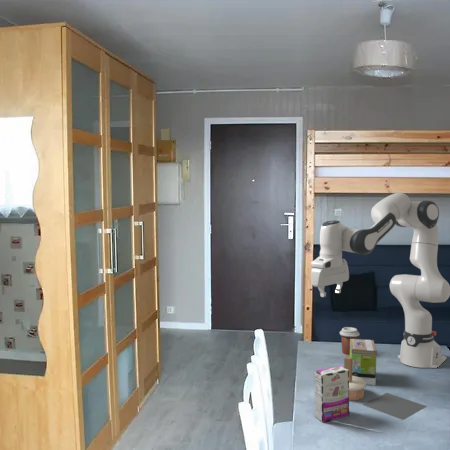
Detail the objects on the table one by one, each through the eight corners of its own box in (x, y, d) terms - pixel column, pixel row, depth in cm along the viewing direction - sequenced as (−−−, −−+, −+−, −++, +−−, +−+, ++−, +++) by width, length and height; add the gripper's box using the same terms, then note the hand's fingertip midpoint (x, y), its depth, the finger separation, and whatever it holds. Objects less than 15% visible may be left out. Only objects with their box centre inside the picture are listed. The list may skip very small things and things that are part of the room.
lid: (336, 375, 201) (336, 350, 201) (369, 381, 195) (370, 355, 194) (325, 386, 190) (326, 360, 189) (360, 393, 184) (361, 366, 183)
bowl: (344, 387, 201) (344, 376, 200) (368, 395, 192) (369, 384, 192) (326, 394, 194) (327, 383, 193) (351, 404, 185) (351, 392, 185)
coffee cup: (362, 353, 241) (363, 328, 240) (353, 358, 234) (353, 333, 233) (345, 349, 247) (345, 325, 246) (335, 354, 240) (335, 329, 239)
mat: (386, 394, 194) (386, 392, 194) (426, 407, 182) (426, 406, 182) (362, 406, 184) (362, 404, 184) (403, 421, 172) (403, 419, 171)
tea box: (376, 387, 201) (377, 350, 200) (350, 385, 203) (350, 348, 202) (373, 373, 216) (373, 339, 214) (348, 371, 218) (349, 337, 217)
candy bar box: (340, 410, 180) (341, 365, 179) (349, 416, 175) (350, 369, 174) (313, 416, 175) (313, 370, 174) (321, 422, 171) (322, 374, 170)
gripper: (340, 257, 216) (340, 289, 217) (308, 263, 203) (308, 297, 204) (352, 259, 211) (352, 292, 212) (320, 264, 198) (320, 300, 199)
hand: (330, 294), depth 208 cm, fingers open, 8 cm apart
